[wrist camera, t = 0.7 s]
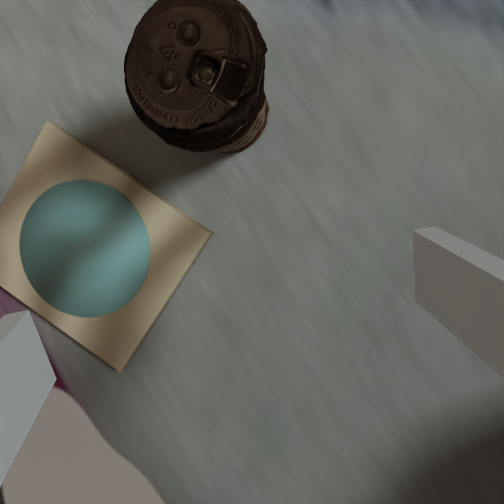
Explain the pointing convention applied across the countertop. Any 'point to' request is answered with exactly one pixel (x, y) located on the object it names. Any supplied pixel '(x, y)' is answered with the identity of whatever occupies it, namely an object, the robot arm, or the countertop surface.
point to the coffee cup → (199, 74)
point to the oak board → (92, 246)
